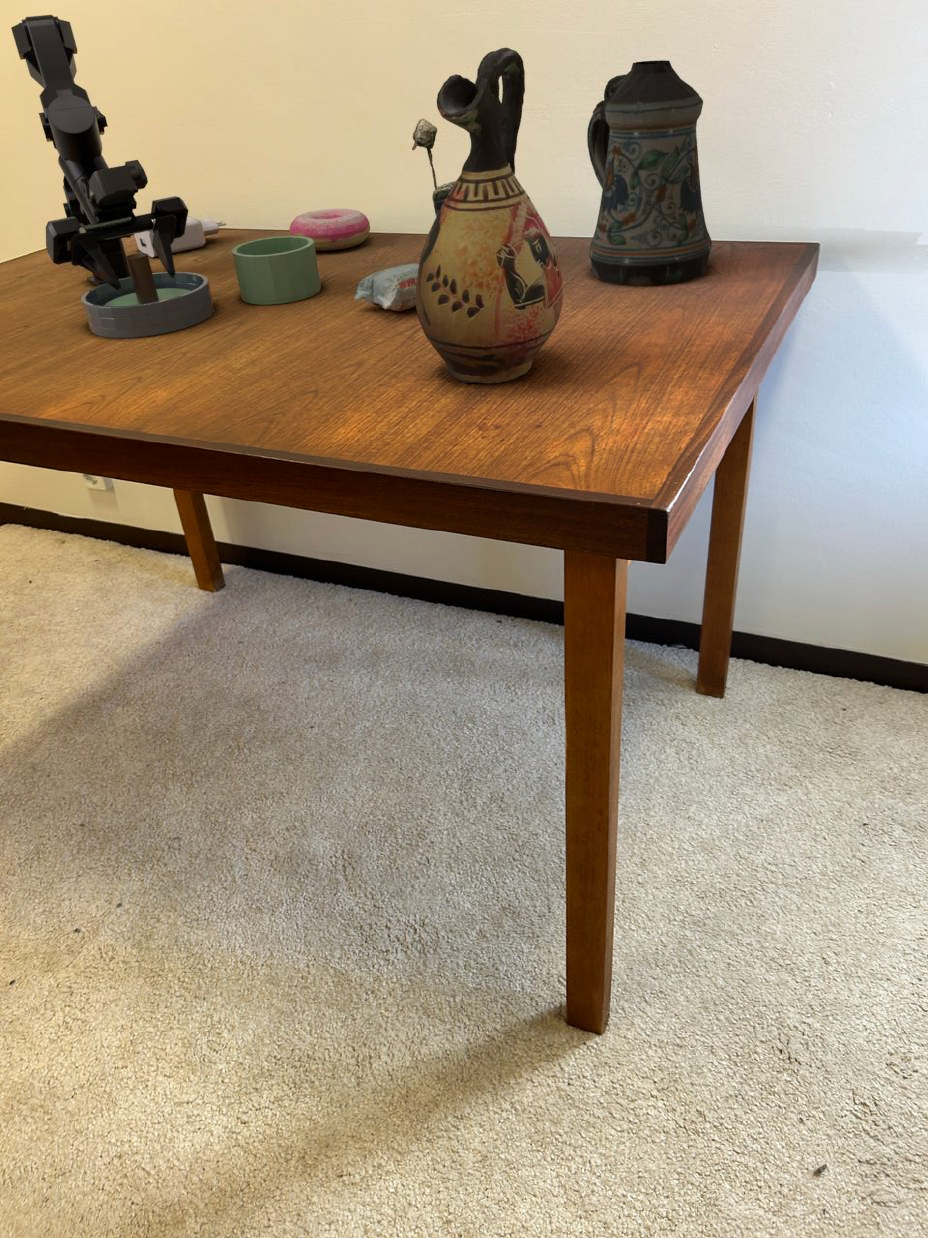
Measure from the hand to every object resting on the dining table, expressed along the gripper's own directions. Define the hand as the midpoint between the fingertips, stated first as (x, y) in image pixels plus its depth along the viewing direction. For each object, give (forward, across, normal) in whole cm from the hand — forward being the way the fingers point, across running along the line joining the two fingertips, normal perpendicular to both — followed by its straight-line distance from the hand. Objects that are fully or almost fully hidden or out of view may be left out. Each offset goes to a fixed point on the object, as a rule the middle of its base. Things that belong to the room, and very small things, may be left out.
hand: (147, 281), depth 126 cm
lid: (+1, 0, +3) cm, 4 cm away
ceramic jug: (+40, +19, -32) cm, 54 cm away
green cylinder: (+5, +18, +2) cm, 19 cm away
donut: (-8, +38, +15) cm, 42 cm away
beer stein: (+29, +57, -21) cm, 67 cm away
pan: (+3, 0, +5) cm, 5 cm away
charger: (-24, +22, +32) cm, 45 cm away
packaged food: (+20, +26, -13) cm, 35 cm away
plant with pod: (+13, +42, -5) cm, 44 cm away
